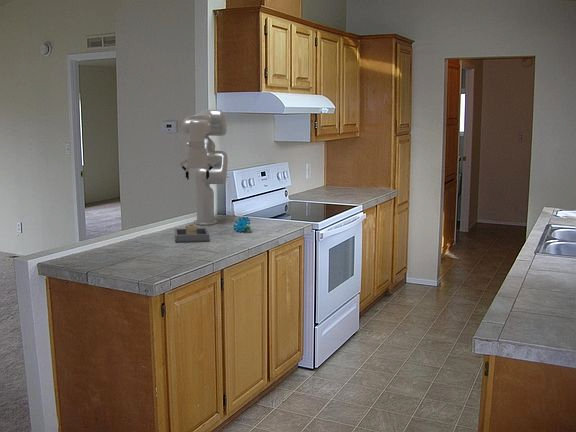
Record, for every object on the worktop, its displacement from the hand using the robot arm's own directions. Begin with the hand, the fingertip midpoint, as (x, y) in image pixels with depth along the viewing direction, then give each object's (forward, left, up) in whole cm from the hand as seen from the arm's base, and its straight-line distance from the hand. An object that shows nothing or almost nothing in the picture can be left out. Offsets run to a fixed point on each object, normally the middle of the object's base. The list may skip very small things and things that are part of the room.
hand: (197, 179), depth 314 cm
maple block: (+11, -4, -28) cm, 30 cm away
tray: (+11, -4, -28) cm, 31 cm away
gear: (-3, +23, -29) cm, 37 cm away
